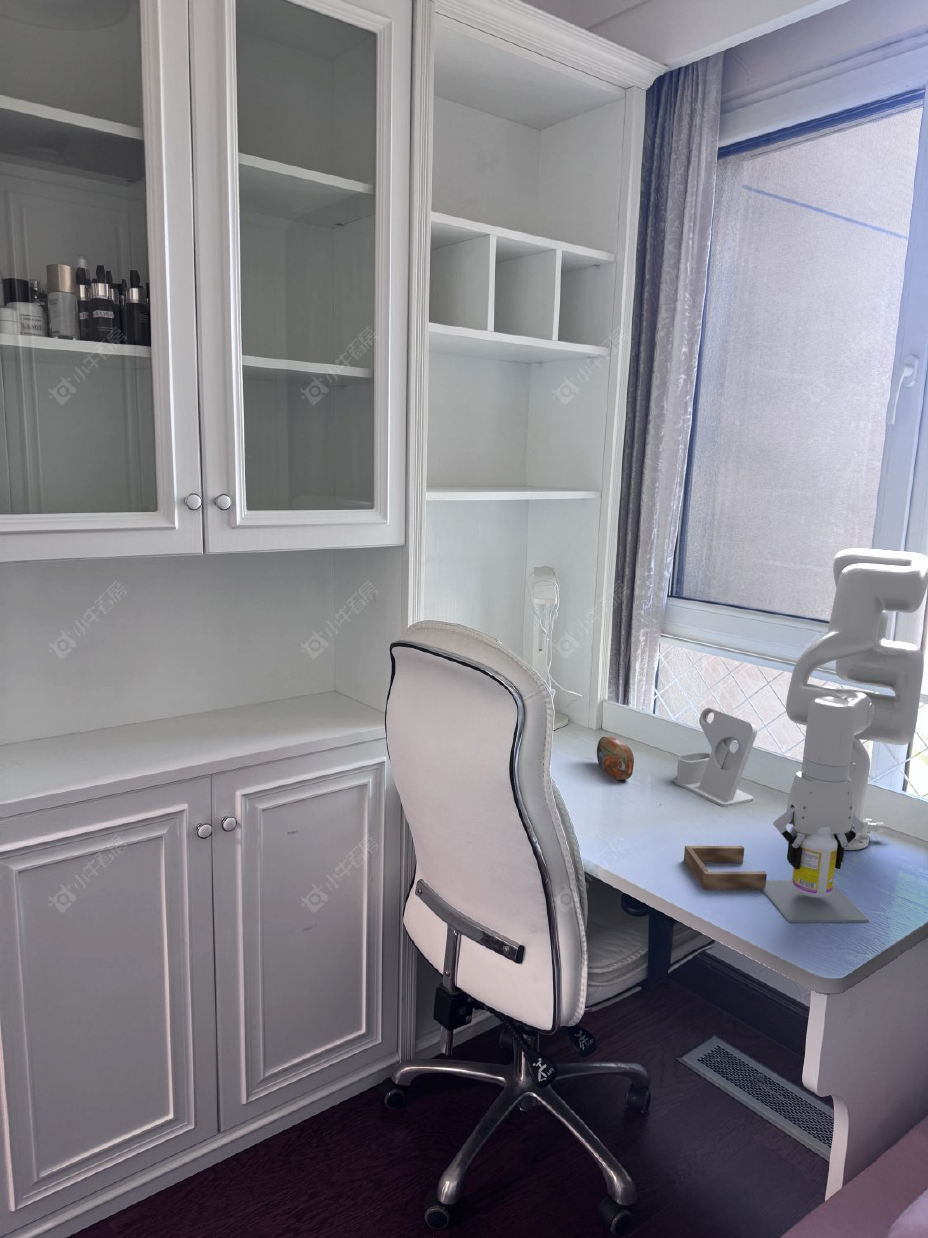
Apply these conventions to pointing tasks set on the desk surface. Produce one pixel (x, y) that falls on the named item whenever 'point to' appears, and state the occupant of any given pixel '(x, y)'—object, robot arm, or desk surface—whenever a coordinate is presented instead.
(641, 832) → the desk surface
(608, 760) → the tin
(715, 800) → the phone holder
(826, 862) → the supplement bottle
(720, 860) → the wooden u-shaped frame
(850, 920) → the mat
